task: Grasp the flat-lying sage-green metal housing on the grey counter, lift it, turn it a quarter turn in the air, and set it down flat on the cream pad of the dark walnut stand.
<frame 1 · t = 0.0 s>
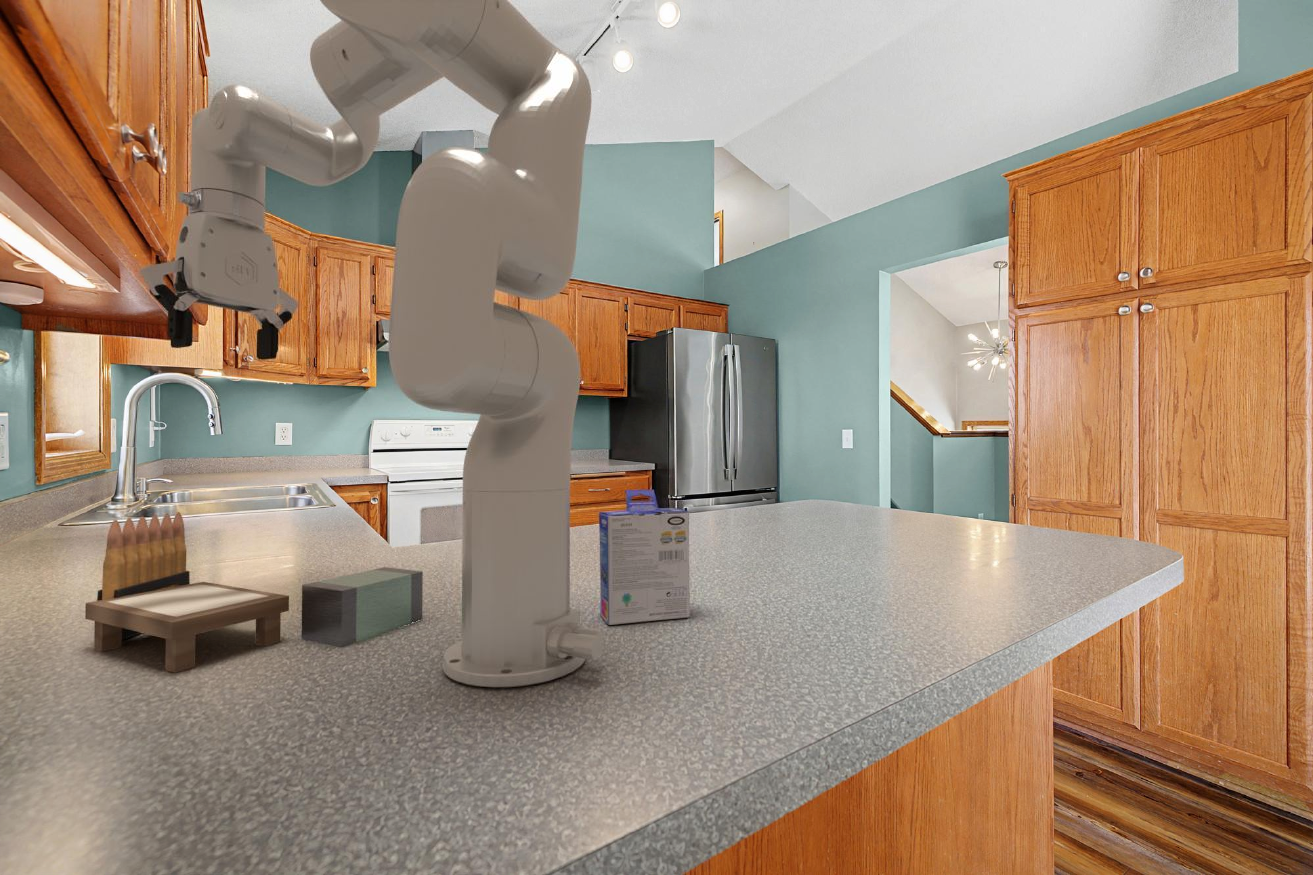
hand: (226, 353, 72), 31 cm above the countertop, fingers open, 9 cm apart
housing: (365, 629, 63), on the countertop
ammunition clip: (146, 629, 63), on the countertop, touching stand
stand: (189, 645, 57), on the countertop
ink cartridge box: (644, 617, 67), on the countertop
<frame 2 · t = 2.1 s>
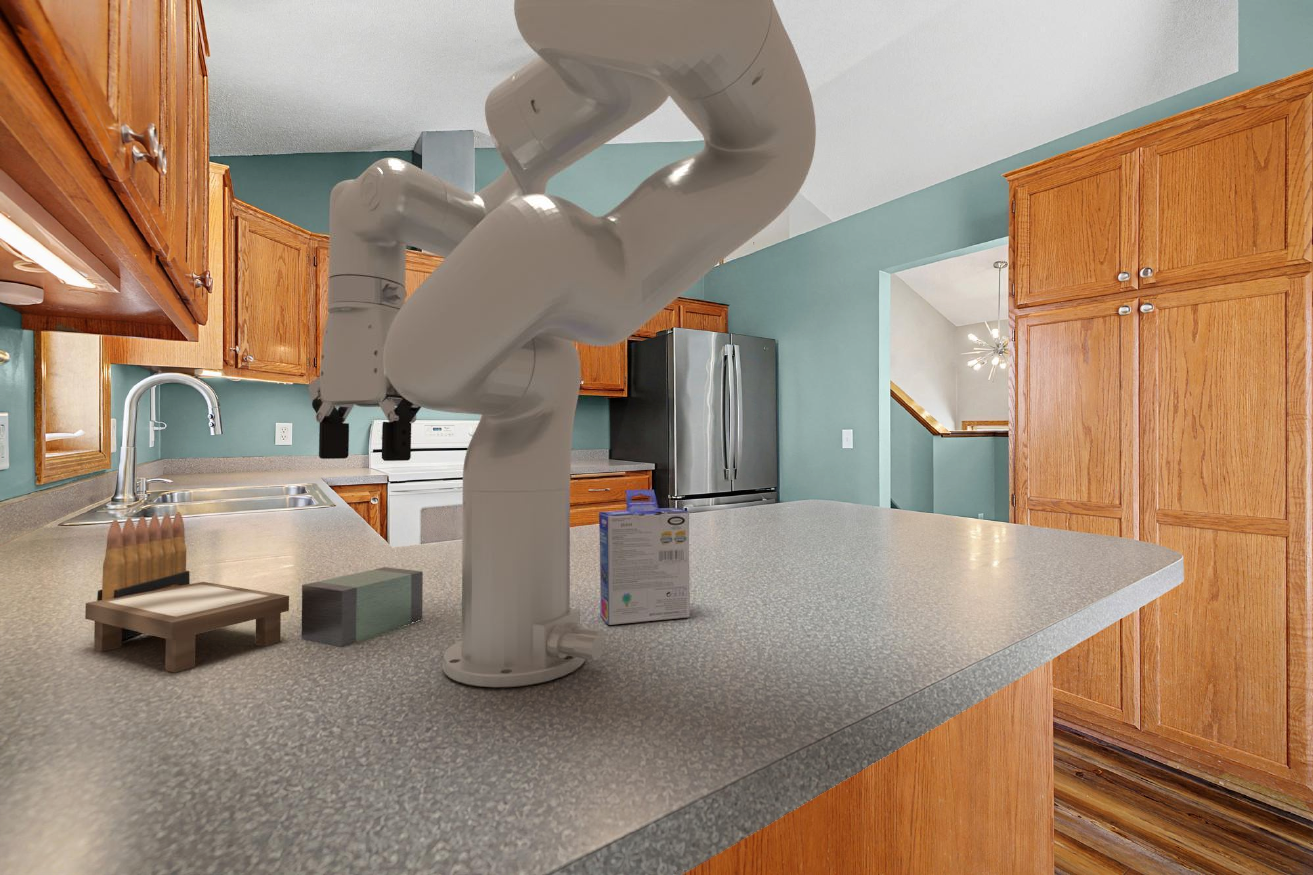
hand: (364, 459, 63), 18 cm above the countertop, fingers open, 9 cm apart
nothing on the countertop moved.
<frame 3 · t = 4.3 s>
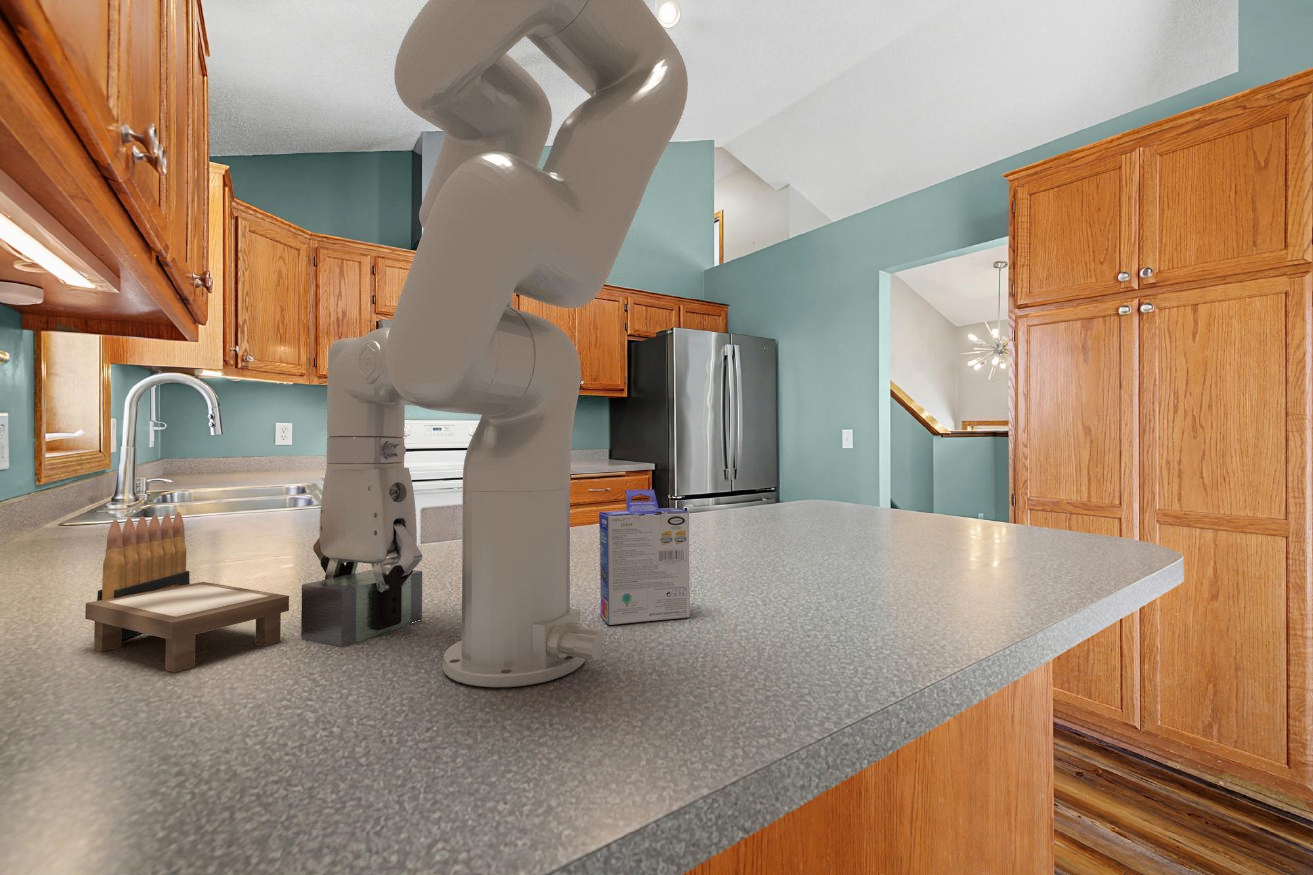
hand: (364, 621, 63), 1 cm above the countertop, fingers closed on housing, 6 cm apart
housing: (364, 629, 63), on the countertop, touching gripper
everything else where it was.
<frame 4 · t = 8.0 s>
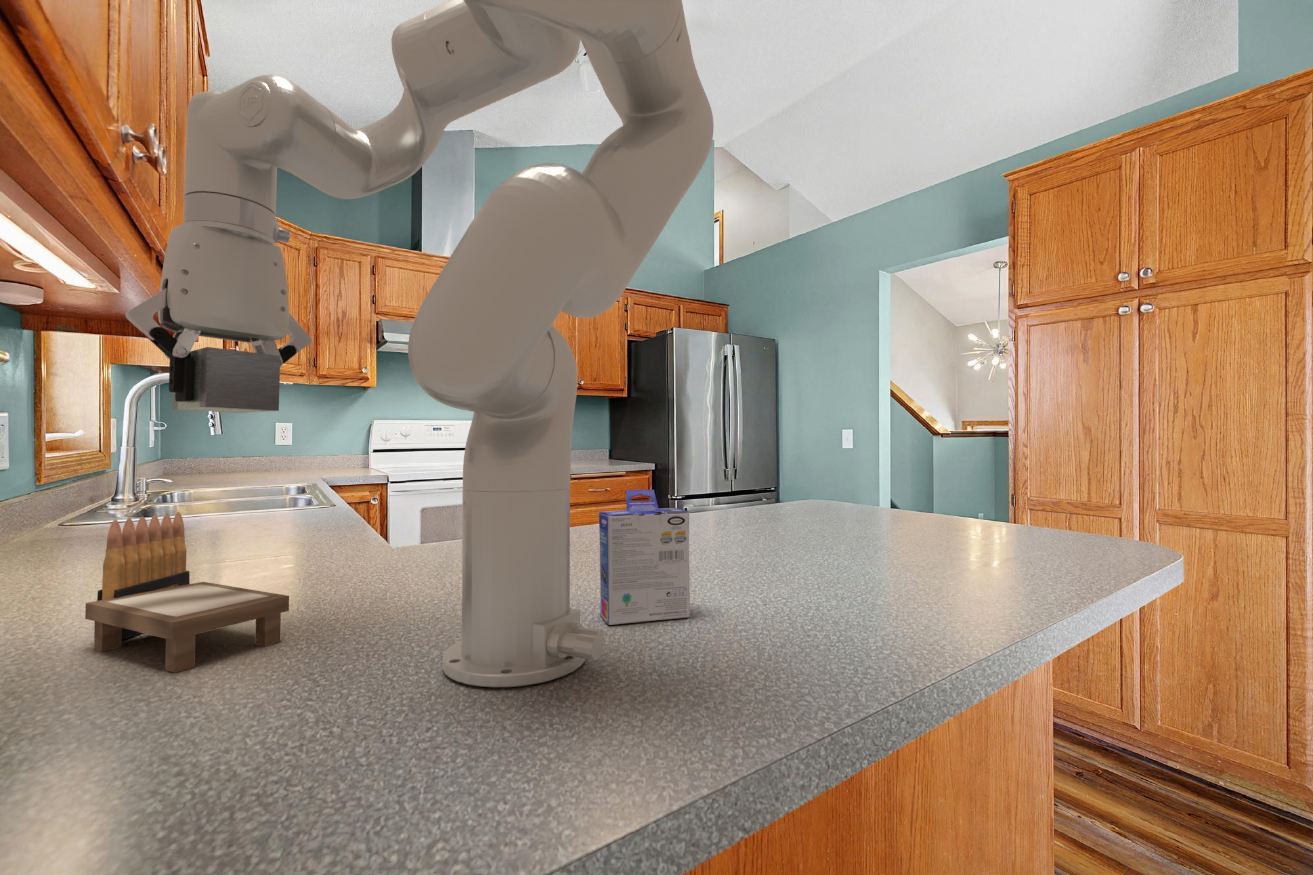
hand: (225, 401, 59), 24 cm above the countertop, fingers closed on housing, 6 cm apart
housing: (225, 410, 59), point 23 cm above the countertop, touching gripper
everything else where it was.
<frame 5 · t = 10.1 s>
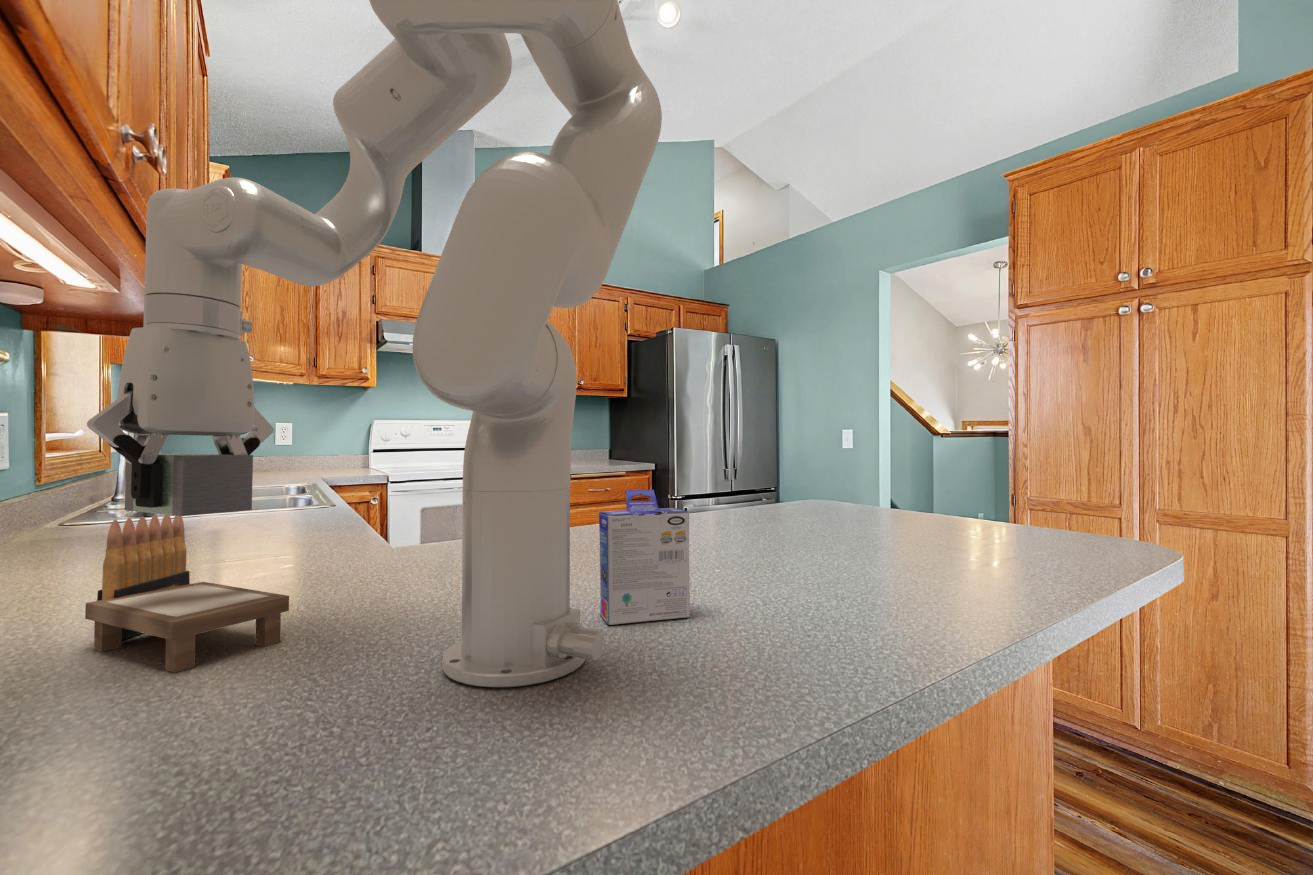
hand: (189, 502, 58), 14 cm above the countertop, fingers closed on housing, 6 cm apart
housing: (188, 510, 58), point 13 cm above the countertop, touching gripper
everything else where it was.
when the fingers open (7 cm above the countertop, at t = 12.0 s): housing drops 1 cm, resting on stand.
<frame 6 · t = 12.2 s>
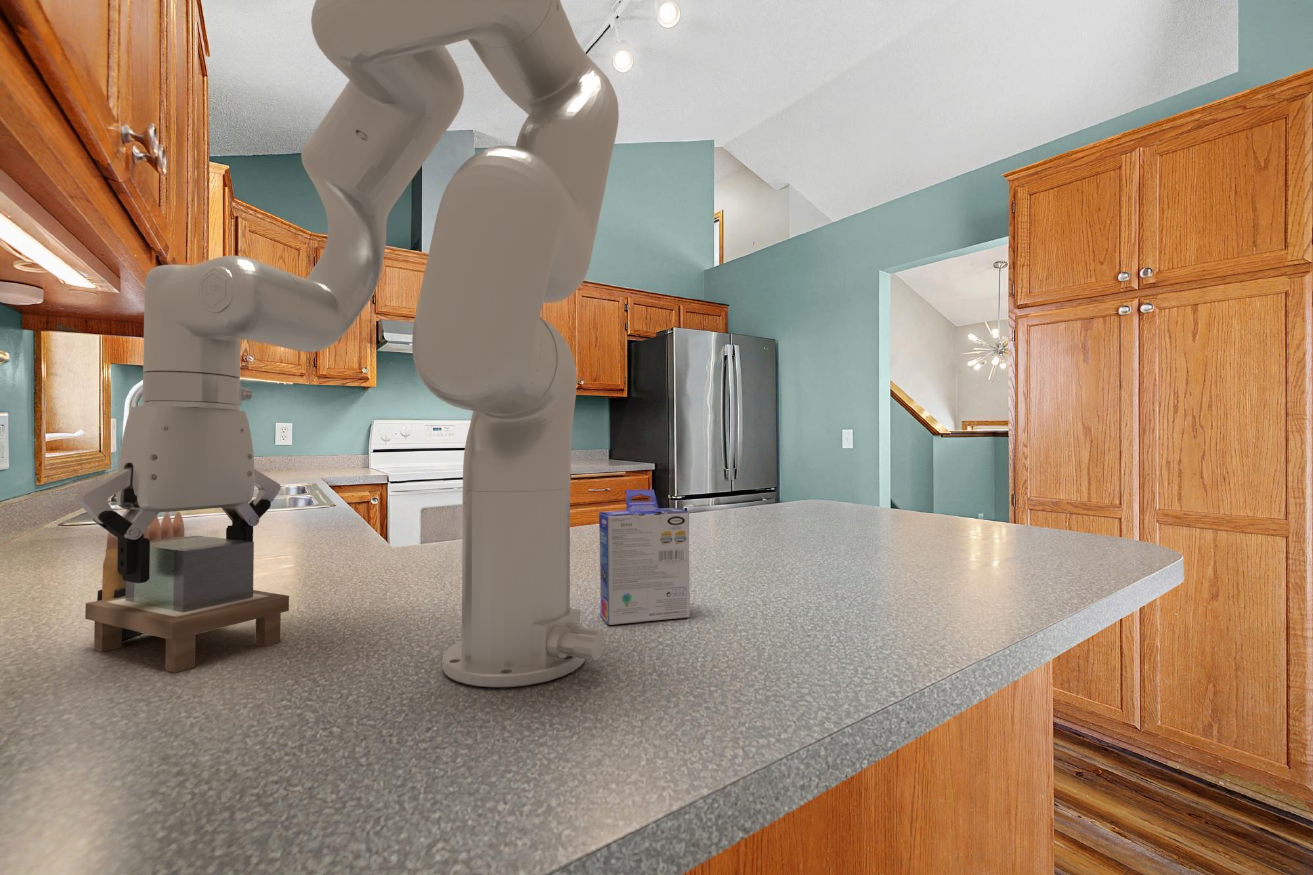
hand: (190, 571, 57), 7 cm above the countertop, fingers open, 8 cm apart
housing: (189, 598, 57), point 5 cm above the countertop, touching stand
everything else where it was.
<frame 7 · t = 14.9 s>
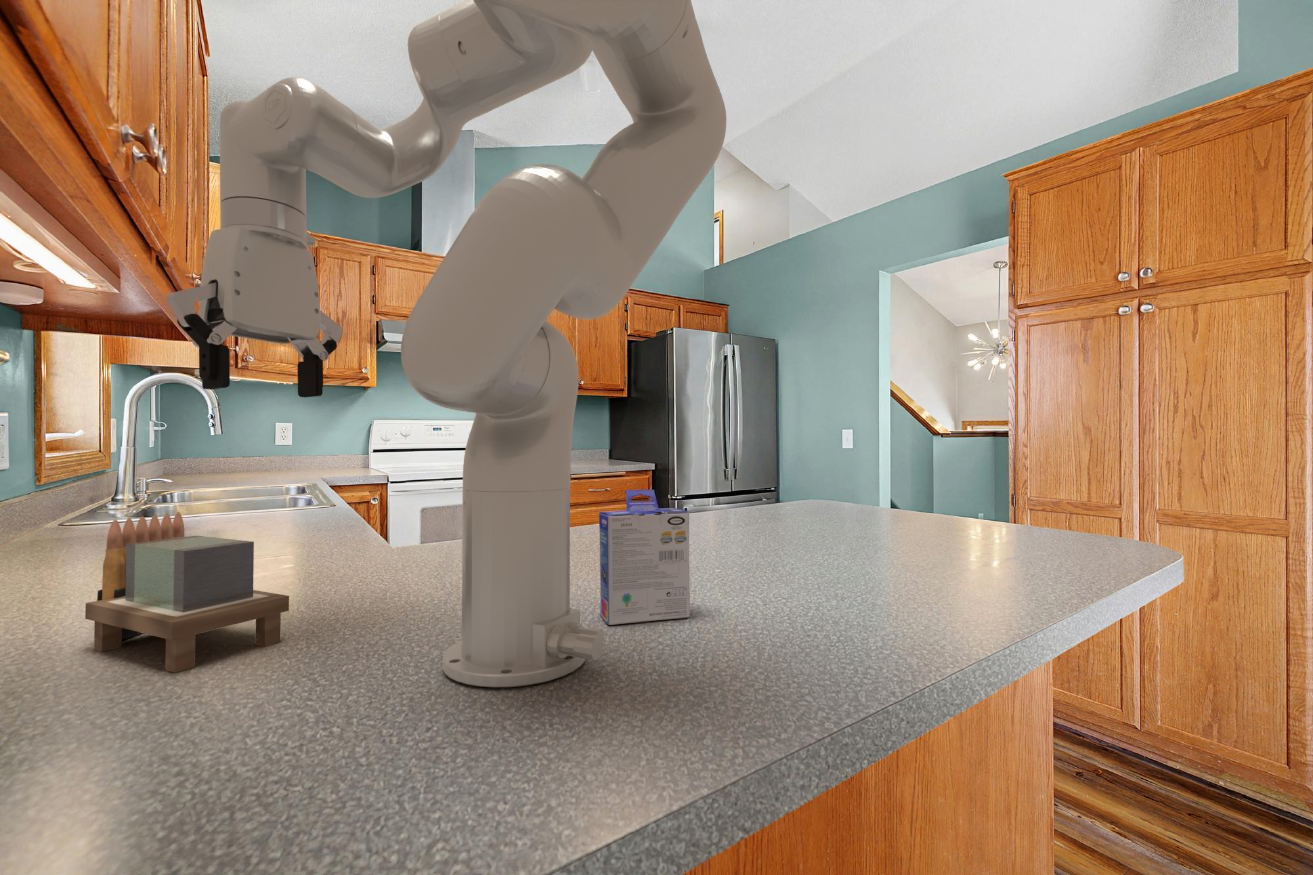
hand: (266, 392, 61), 25 cm above the countertop, fingers open, 9 cm apart
nothing on the countertop moved.
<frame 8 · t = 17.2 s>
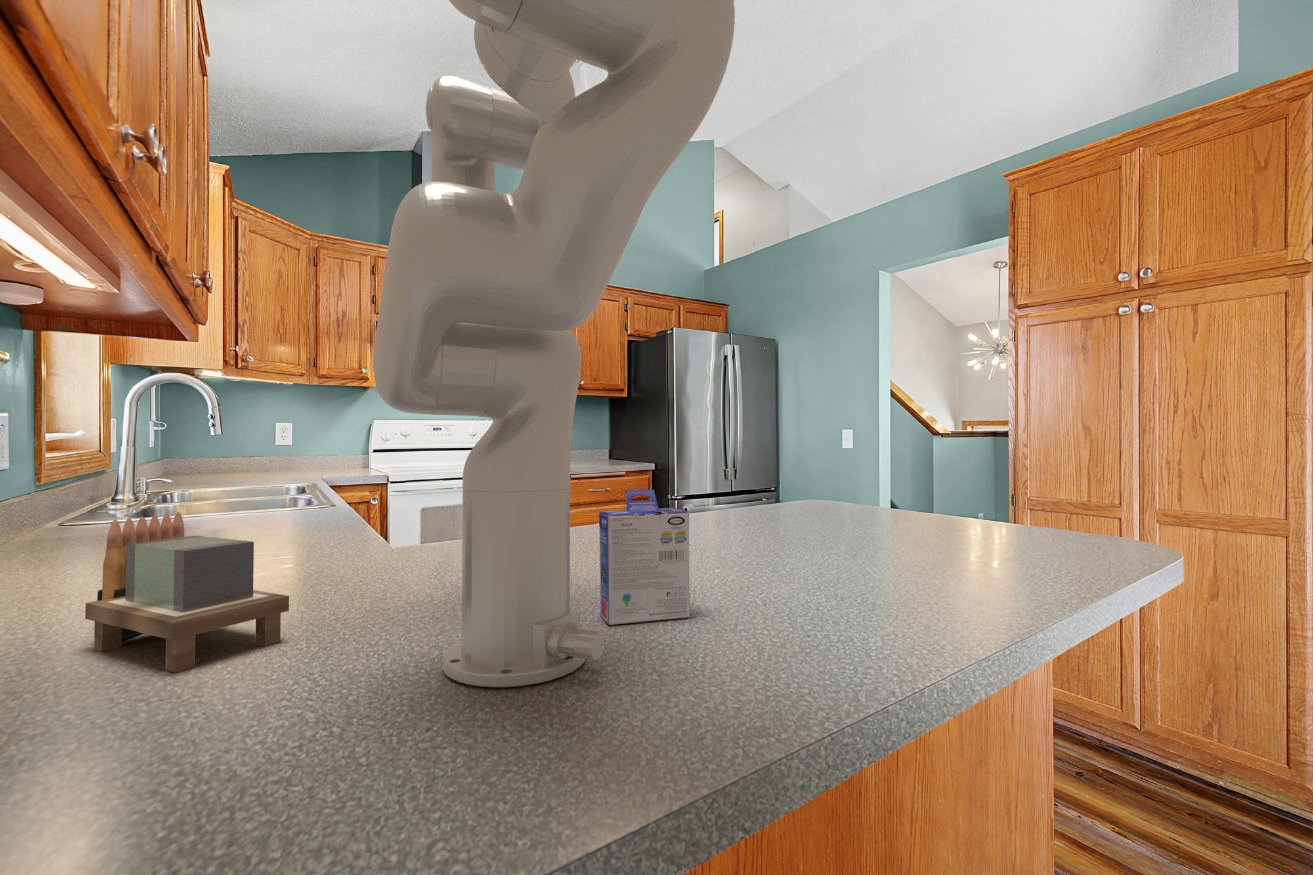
hand: (462, 359, 72), 30 cm above the countertop, fingers open, 9 cm apart
nothing on the countertop moved.
at the end: housing inside the target area on the stand (0.0 cm from its centre), point 4.5 cm above the stand's base; housing tilted 0°; the gripper is holding nothing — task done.
